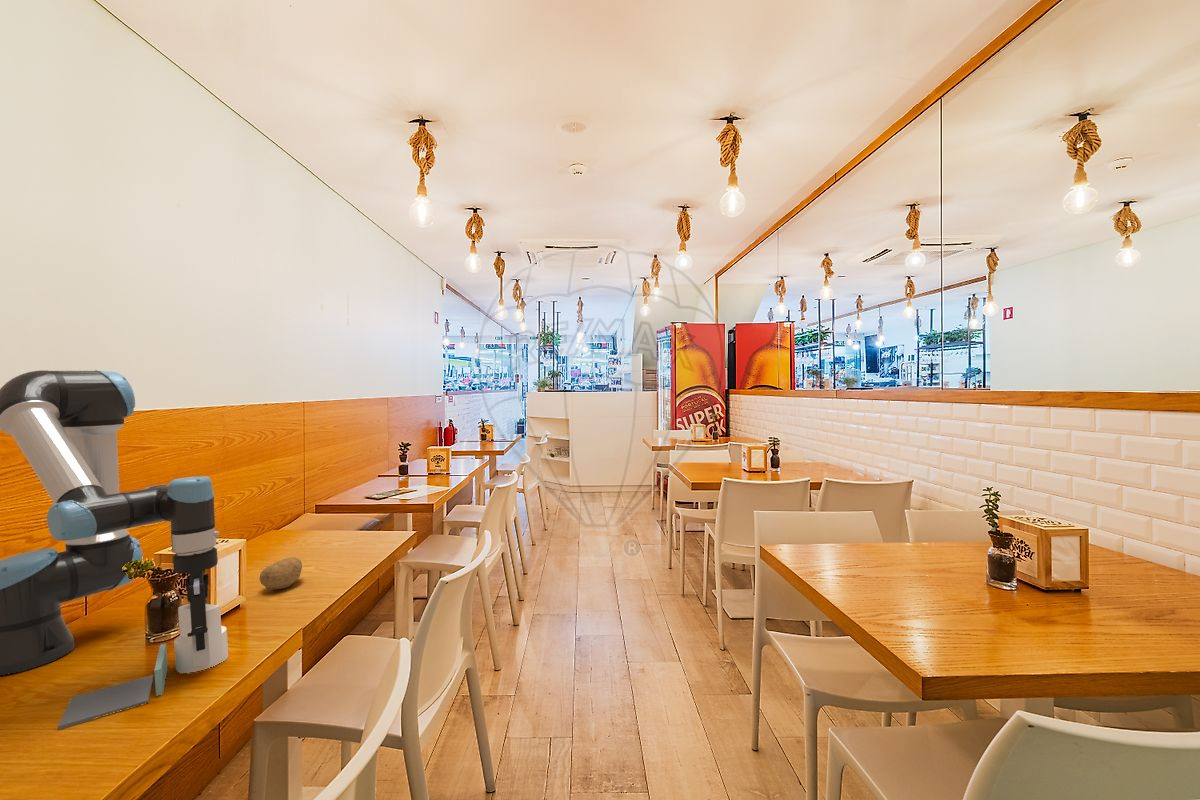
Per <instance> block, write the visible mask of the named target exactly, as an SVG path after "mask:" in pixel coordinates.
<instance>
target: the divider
mask: <svg viewBox="0 0 1200 800" xmlns="http://www.w3.org/2000/svg"><path fill="white" fill-rule="evenodd" d="M167 650H168V649H167V643H162V644H159V648H158V653H157V657H156V662H155V666H154V669H153V671H154V685H155V697H156V696H157V697H159V696H158V695H161V694H163V695H164V691H165V690H164V689H165V686H164V685H165V684H166V680H165V679H166V678H167V674H168V673H167V672H168V668H169V667H168V666H169V664H168V653H167ZM167 667H168V668H167ZM166 673H167V674H166ZM163 690H164V691H163ZM161 696H162V695H161Z"/></svg>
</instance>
